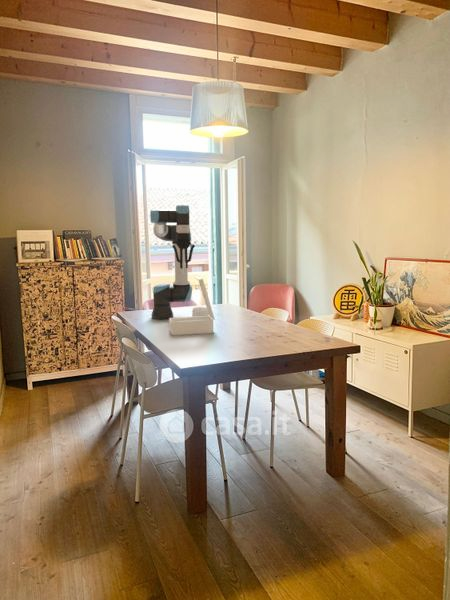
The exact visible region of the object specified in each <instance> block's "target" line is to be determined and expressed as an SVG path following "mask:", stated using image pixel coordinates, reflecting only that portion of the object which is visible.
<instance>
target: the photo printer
mask: <svg viewBox="0 0 450 600" xmlns="http://www.w3.org/2000/svg"><path fill="white" fill-rule="evenodd" d="M191 315H192V316H191V317H198V316H209V314H208V310H207V307H206V306H205V307H204V306H195V307H193V308H192V313H191ZM209 317H210V316H209Z"/></svg>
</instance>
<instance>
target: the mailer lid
mask: <svg viewBox="0 0 450 600" xmlns="http://www.w3.org/2000/svg"><path fill="white" fill-rule="evenodd" d="M195 280H196V281H198V283H199V286H200V290H201V293H202V296H203V299H204V304H205V308H207V310H208V314H209V317H211V318H212V319H213V321H214V320H216V319H215V316H214V312H213V308H212V305H211V303H210V302H211V301H210V299H209V295H208V292H207V288H206V285H205V282H204V279H203V278H202V277H200V276H196V277H195Z"/></svg>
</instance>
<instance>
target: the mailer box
mask: <svg viewBox="0 0 450 600" xmlns="http://www.w3.org/2000/svg"><path fill="white" fill-rule="evenodd" d="M168 324H169V333H170V335H171V336H173V337H175V336H177V335H178V336H189V335H190V336H191V335H207V334H214V320H213V319H212V318H211V317H210V316H198V317H192V316H183V317H182V316H181V317H173V318H169V319H168Z"/></svg>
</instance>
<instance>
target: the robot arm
mask: <svg viewBox="0 0 450 600" xmlns="http://www.w3.org/2000/svg"><path fill="white" fill-rule="evenodd" d="M149 213H150V217H149V219H150V223H153V228H152V229H153V234H154V235H155V237H157V238H158V239H159V240H161V241H164V242H171V244H172V246H171V247H172V249H173V250H174V281H173V282H172V285H171V283H161V284H156V285H154V286H153V288H152V294H153V297H152V298H153V308H152V311H151V314H150V315H151V319H154V320H169V318H174V312H173V309H172V306H171V303H188V302H190V301H191V300H192V294H193V292H192V291H193V285H191V283H190V281H189V280H188V279H189V278H188V274H189V273H188V268H189V265H188V263H190V262H191V261H192V257H193V256H192V255H193V251H194V248H195V247H196V245H195V244H193V243H191V242H192V233H191V228H190V227H191V226H190V225H191V224H190V213H191V211H190V206H189V205H188V204H178V205H176V207H175V209H151V210H150V211H149ZM189 247H190V249H189V254H188V248H189Z"/></svg>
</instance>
